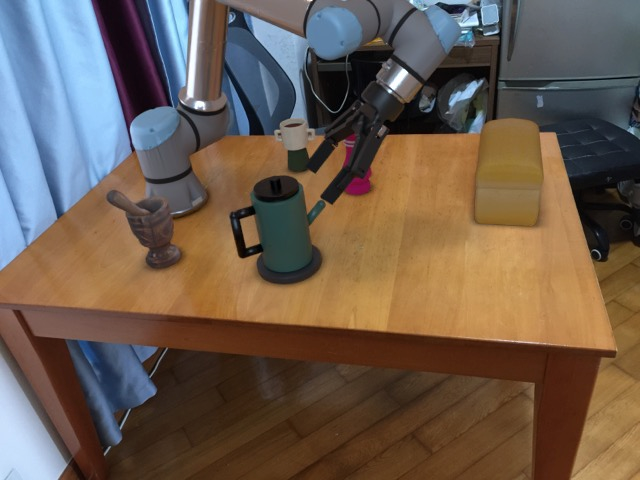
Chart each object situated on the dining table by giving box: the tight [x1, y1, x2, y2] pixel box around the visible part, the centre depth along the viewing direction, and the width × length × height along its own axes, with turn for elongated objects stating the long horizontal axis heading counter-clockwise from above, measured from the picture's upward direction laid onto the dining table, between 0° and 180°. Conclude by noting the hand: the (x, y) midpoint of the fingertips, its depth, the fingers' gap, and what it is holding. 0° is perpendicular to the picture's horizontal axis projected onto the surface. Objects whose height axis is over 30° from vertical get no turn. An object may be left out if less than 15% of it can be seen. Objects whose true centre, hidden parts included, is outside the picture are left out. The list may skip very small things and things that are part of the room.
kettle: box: [228, 174, 327, 272], centre depth 104 cm, size 19×10×18 cm, turn 114°
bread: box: [473, 117, 545, 227], centre depth 119 cm, size 24×13×15 cm, turn 164°
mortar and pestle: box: [105, 189, 182, 270], centre depth 110 cm, size 12×9×20 cm
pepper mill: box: [342, 133, 372, 196], centre depth 129 cm, size 7×7×20 cm
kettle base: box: [256, 243, 322, 285], centre depth 110 cm, size 13×13×2 cm
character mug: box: [273, 117, 317, 173], centre depth 144 cm, size 11×7×13 cm, turn 80°
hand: (317, 184), depth 102 cm, fingers open, 13 cm apart
